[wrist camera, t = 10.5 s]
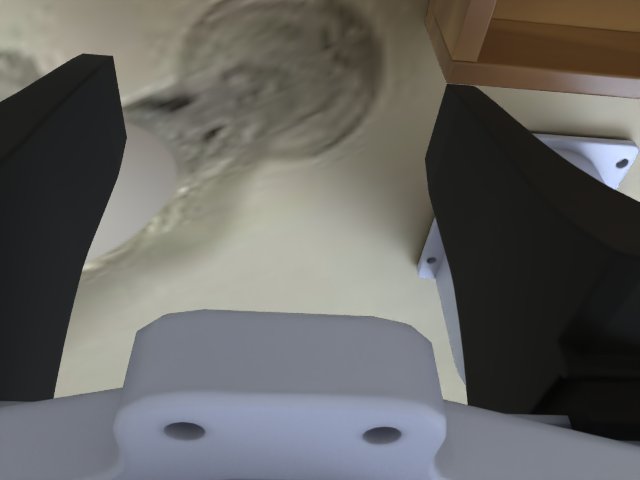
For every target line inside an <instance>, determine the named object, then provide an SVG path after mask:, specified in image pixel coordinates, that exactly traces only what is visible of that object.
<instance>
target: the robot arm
mask: <svg viewBox="0 0 640 480" xmlns="http://www.w3.org/2000/svg"><path fill="white" fill-rule="evenodd" d="M126 139H127V136H126V130H125V124H124V118H123V112H122V106H121V100H120V95H119V89H118V83H117V77H116V71H115V65H114V59H113V56H106V55H94V54H81V55H79V56H77V57H75V58H73V59H71V60H70V61H68V62H66V63H65V64H63V65H61V66H60V67H58V68H56V69H55V70H53V71H52V72H50V73H48V74H47V75H45V76H44V77H42V78H40V79H39V80H37V81H35V82H34V83H32V84H31V85H29V86H27V87H26V88H24V89H22V90H21V91H19V92H17V93H16V94H14V95H12V96H10V97H8V98H7V99H5V100H3V101H1V102H0V480H640V202H638V201H636V200H634V199H632V198H630V197H628V196H626V195H624V194H622V193H620V192H618V191H617V190H616V189H617V187H618V186H619V184H620V182H621V181H622V179H623V178H624V176H625V175H626V173H627V171H628V170H629V168H630V167H631V165H632V164H633V162H634V160H635V159H636V157H637V156H638V154H639V147H638V146H637V145H636V143H635V142H633V141H627V140H614V139H600V138H587V137H574V136H561V135H547V134H534V133H531V132H529V131H528V130H527V129H526V128H525V127H523V126H522V125H521V124H520V123H519V122H517V121H516V120H515V119H514V118H513V117H512V116H510V115H509V114H508V113H507V112H506V111H505V110H503V109H502V108H501V107H500V106H499V105H498V104H497V103H495V102H494V101H493V100H492V99H491V98H489V97H488V96H487V95H486V94H484V93H483V92H482V91H481V90H479V89H478V88H476V87H475V86H468V85H456V84H447V86H446V89H445V93H444V96H443V99H442V103H441V106H440V109H439V113H438V116H437V119H436V123H435V126H434V129H433V133H432V136H431V140H430V143H429V146H428V150H427V153H426V156H425V164H426V174H427V182H428V190H429V196H430V200H431V204H432V207H433V211H434V215H435V217H434V220H433V223H432V226H431V229H430V232H429V235H428V238H427V241H426V243H425V246H424V249H423V252H422V255H421V258H420V261H419V264H418V267H417V273H418V275H419V277H421V278H426V279H436V283H437V287H438V292H439V296H440V300H441V305H442V309H443V314H444V318H445V323H446V327H447V331H448V336H449V340H450V345H451V349H452V354H453V358H454V362H455V366H456V368H457V371H458V373H459V375H460V377H461V379H462V381H463V382H464V384H465V385H466V390H467V401H468V405H465V404H461V403H457V402H452V401H448V400H444V399H443V398H442V393H441V388H440V383H439V378H438V373H437V368H436V363H435V358H434V353H433V348H432V343H431V342H430V341H429V340H428V339H427V338H425V337H424V336H423V335H422V334H420V333H419V332H418V331H417V330H416V329H414V328H413V327H412V326H411V325H408V324H406V323H402V322H397V321H392V320H388V319H383V318H378V317H374V316H351V315H327V314H304V313H280V312H256V311H232V310H208V309H203V310H194V311H186V312H178V313H170V314H166V315H163V316H162V317H160V318H158V319H157V320H155V321H153V322H152V323H150V324H148V325H147V326H145V327H143V328H142V329H140V330H138V331H137V333H136V336H135V340H134V344H133V348H132V352H131V356H130V360H129V364H128V368H127V372H126V376H125V381H124V385H123V388H116V389H110V390H104V391H98V392H92V393H85V394H79V395H73V396H67V397H61V398H54V392H55V387H56V382H57V377H58V372H59V367H60V362H61V357H62V352H63V347H64V342H65V338H66V334H67V329H68V325H69V321H70V316H71V312H72V308H73V303H74V300H75V296H76V292H77V288H78V284H79V280H80V276H81V273H82V269H83V266H84V263H85V260H86V257H87V254H88V251H89V248H90V246H91V243H92V241H93V238H94V236H95V233H96V231H97V228H98V226H99V223H100V221H101V218H102V216H103V213H104V211H105V208H106V206H107V203H108V201H109V198H110V196H111V193H112V191H113V188H114V185H115V183H116V180H117V178H118V174H119V171H120V166H121V162H122V158H123V153H124V148H125V144H126ZM622 159H624V160H623V161H621V162H619V163H617V162H618V161H620V160H622ZM430 257H433V258H430ZM53 398H54V399H53Z"/></svg>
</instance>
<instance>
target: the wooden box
mask: <svg viewBox="0 0 640 480" xmlns="http://www.w3.org/2000/svg"><path fill="white" fill-rule="evenodd" d="M425 26H426V29H427V31H428V34H429V37H430V40H431V42H432V45H433V48H434V51H435V54H436V56H437V59H438V62H439V65H440V67H441V70H442V73H443V76H444V78H445V81H446V82H447V83H455V84H467V85H479V86H491V87H504V88H516V89H528V90H540V91H552V92H564V93H576V94H588V95H600V96H612V97H624V98H636V99H640V0H430V4H429V8H428V12H427V16H426V20H425Z"/></svg>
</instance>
